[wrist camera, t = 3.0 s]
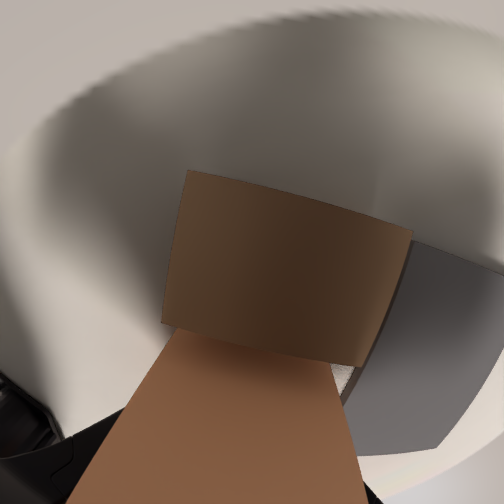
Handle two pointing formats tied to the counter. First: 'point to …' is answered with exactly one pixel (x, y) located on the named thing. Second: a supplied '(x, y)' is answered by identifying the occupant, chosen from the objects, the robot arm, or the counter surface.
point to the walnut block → (280, 271)
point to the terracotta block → (227, 433)
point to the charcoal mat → (426, 354)
